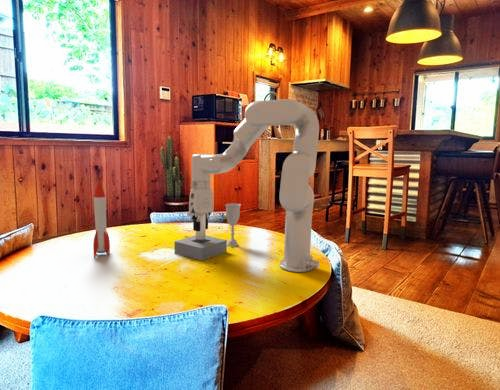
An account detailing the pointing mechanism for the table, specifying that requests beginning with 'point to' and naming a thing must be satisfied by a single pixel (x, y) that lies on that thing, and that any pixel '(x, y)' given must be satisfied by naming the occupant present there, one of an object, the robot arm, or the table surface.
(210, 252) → the socket block
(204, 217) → the peg
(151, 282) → the table surface
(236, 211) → the chalice
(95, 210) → the toy rocket
